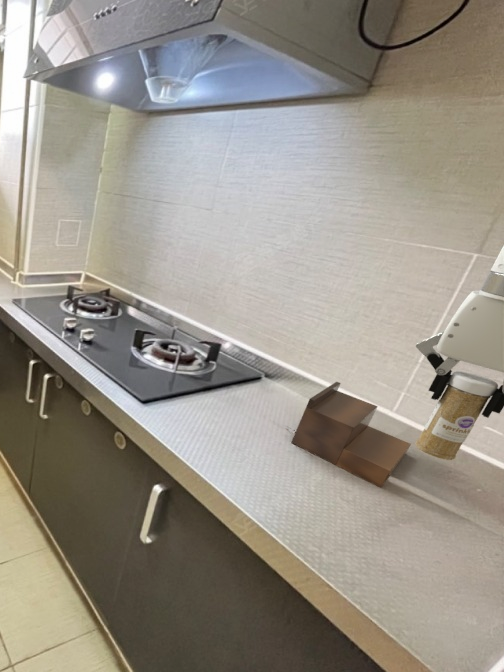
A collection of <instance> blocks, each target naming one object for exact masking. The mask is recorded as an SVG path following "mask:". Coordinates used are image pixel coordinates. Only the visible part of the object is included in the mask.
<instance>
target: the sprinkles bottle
mask: <svg viewBox="0 0 504 672" xmlns="http://www.w3.org/2000/svg"><path fill="white" fill-rule="evenodd" d="M497 388H499V384H498V383H497V382H496V381H495V380H492V379H490V378H488V377H486V376H482V375H479V374H476V373H472V372H467V371H454V372H452V373H451V377H450V379H449V381H448V384H447V386H446V388H445V390H444V391H443V393H442V395H441V397H440V398H439V399H438V400H437V403H436V405H435V407H434V408H433V410H432V412H431V414H430V416H429V418H428V419H427V421H426V423H425V425H424V428H423V431H422V432H421V434H420V436H419V437H418V440H416V441H415V446H416V447H417V449H419V450H421V451H422V452H423V453H425V454H428V455H430V456H432V457H435V458H437V459H440V460H441V459H442V460H446V461H452V460H454V459H456V458H457V454H458V451H460V448H461V446H462V445H463V444H464V443H465V441H466V440H467V438H468V436H469V435H470V433H471V431H472V429H473V428H474V426H475V424H476V422H477V420H478V418H479V417H480V415H481V414H482V412H483V410H484V409H485V407H486V405H487V403H488V401H489V400H490V399H491V397H492V396H493V394H494V392H495V391H496V389H497Z"/></svg>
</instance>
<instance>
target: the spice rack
mask: <svg viewBox="0 0 504 672" xmlns="http://www.w3.org/2000/svg"><path fill="white" fill-rule="evenodd" d="M340 386H341V382H339V381H335V382H334V383H332V384H330V385H329V386H327V387H326V388H324V389H323V390H321V391H319V392H318V393H316V394H315V395H314V396H312V397H310V398H309V399H308V402H307V404H306V407H305V409H304V411H303V414H302V416H301V418H300V421H299V423H298V425H297V427H296V429H295V432H294V434H293V437H292V438H291V439H292V440H291V442H290V443H291V444H293V445H295V446H297V447H299V448H301V449H302V450H305V451H306V452H309V453H311V454H313V455H315V456H317V457H319V458H321V459H323V460H324V461H327V462H329V463H331V464H333V465H335V466H336V467H339V468H340V469H342V470H345V471H346V472H349V473H351V474H352V475H354V476H356V477H359V478H360V479H362V480H365V481H366V482H368V483H371V484H372V485H375V486H377V487H378V488H380V489H381V488H382V487H383V485H385V483H386V482H387V481H388V479H389V478H390V477H391V474H392V472H393V471H394V470H395V468H396V467H397V466H398V464H399V463H400V462H401V461H402V459H403V458H404V457H405V455H407V453H408V450H409V448H410V447H411V444H412V443H410V442H408V441H406V440H403V439H400V438H398V437H396V436H394V435H391V434H389V433H387V432H384V431H381V430H379V429H376V428H374V427H372V426H370V423H371V420H372V419H373V417H374V415H375V412H376V411H377V409H378V405H375V404H372V403H370V402H368V401H365V400H362V399H360V398H357V397H354V396H352V395H349V394H347V393H344V392H341V391H339V388H340Z"/></svg>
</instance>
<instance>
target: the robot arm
mask: <svg viewBox="0 0 504 672" xmlns="http://www.w3.org/2000/svg"><path fill="white" fill-rule="evenodd" d="M434 346H436V349H435V348H434ZM415 348H416V349H417V350H418V351H419V352H420V353H421V354H422V355H423V357H425V358H426V359H427V361H428V362H429V364H430V365H431V366H432V368H433V370H434V373H436V375H435V377H434V378H433V380H432V383H431V384H430V386H429V388H428V392H432V393H433V394H432V395H431V397H430V399H431V400H434V401H439V400H440V399H441V397H442V395H443V393H444V392H445V390H446V388H447V387H448V386H447V384H448V381H449V379H450V377H451V375H452V373H453V371H452V369H453V368H454V367H455V366H456V365H458V364H459V363H460V362H464V363H468V364H471V365H475V366H479V367H482V368H485V369H489V370H493V371H497V372H501V373H504V245H503V246H502V248H501V250H500V251H499V253H498V255H497V257H496V258H495V261H494V263H493V265H492V267H491V268H490V270H489V272H488V274H487V276H486V278H485V280H484V282H483V284H482V286H481V287H480V289H479V290H472V291H471V292H470V293H469V294H467V297H466V298H465V299H464V300H463V302H462V303H461V304H460V306H459V307H458V309H457V310H456V311H455V313H454V314H453V316H452V317H451V319H450V321H449V322H448V324H447V326H446V328H445V329H444V330H443V331H441V332H439V333H437V334H435V335H433V336H431V337H429V338H426V339H423V340H421V341H419V342H417V343H416V344H415ZM441 355H442V356H441ZM443 356H444V357H447V358H446V359H445V360H444V358H443ZM503 409H504V380H503V382H502V384H501V385H500V386H499V387H497V389H496V391H495V392H494V394H493V396H491V397H490V398H489V399H488V401H487V403H486V405H485V406H484V408H483V410H482V412H481V415H482V417H484V418H487V419H488V418H489V417H490V416H491V415H492V413H496V414H500V413H502V410H503Z"/></svg>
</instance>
